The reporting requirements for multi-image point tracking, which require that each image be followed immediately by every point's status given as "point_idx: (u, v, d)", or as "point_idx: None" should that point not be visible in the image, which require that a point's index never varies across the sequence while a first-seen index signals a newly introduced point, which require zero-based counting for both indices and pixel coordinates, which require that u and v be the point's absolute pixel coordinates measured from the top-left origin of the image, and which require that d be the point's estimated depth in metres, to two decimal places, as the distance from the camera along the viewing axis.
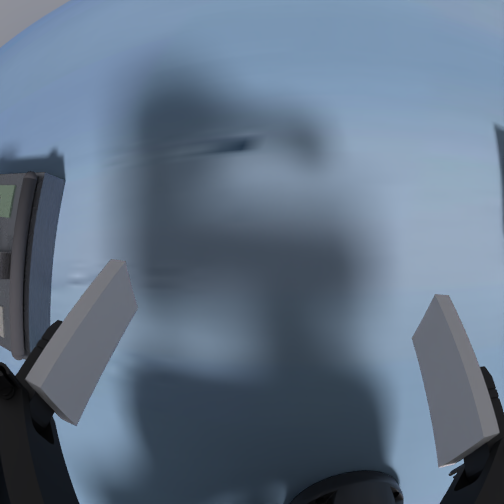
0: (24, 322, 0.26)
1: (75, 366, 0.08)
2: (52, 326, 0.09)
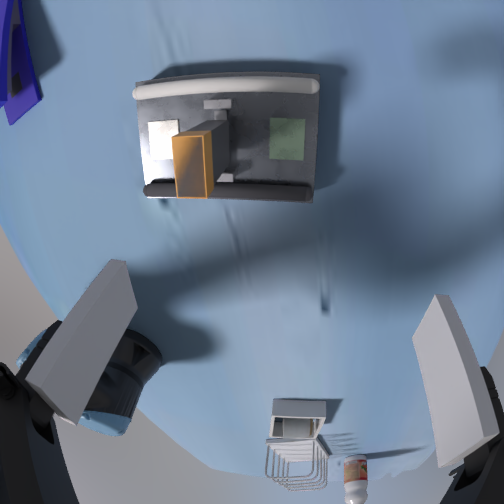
0: None
1: (75, 366, 0.08)
2: (52, 326, 0.09)
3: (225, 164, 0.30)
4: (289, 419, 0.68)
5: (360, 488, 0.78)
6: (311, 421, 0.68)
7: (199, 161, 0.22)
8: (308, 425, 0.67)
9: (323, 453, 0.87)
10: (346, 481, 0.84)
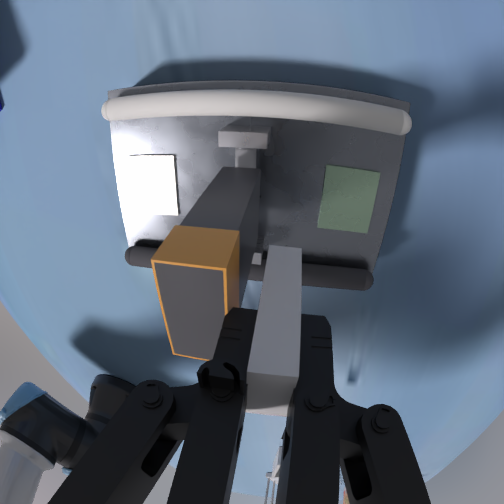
0: None
1: None
2: (227, 313, 0.10)
3: (253, 250, 0.19)
4: None
5: None
6: None
7: (216, 313, 0.10)
8: None
9: None
10: None
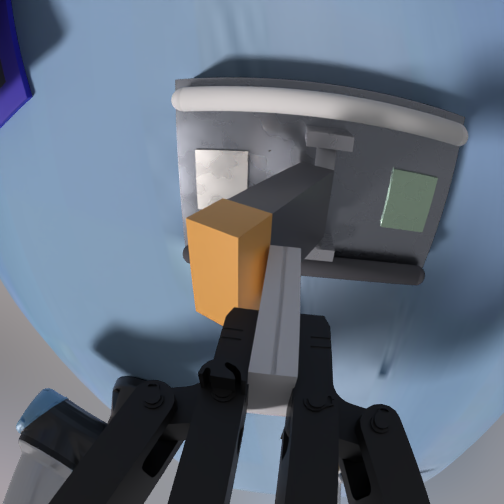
0: None
1: None
2: (228, 314, 0.10)
3: (311, 245, 0.19)
4: None
5: None
6: None
7: (229, 279, 0.12)
8: None
9: (338, 480, 0.78)
10: None
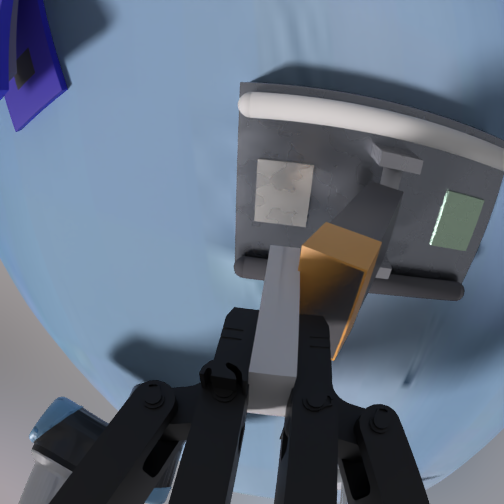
0: None
1: None
2: (229, 313, 0.10)
3: (379, 265, 0.18)
4: None
5: None
6: None
7: (343, 309, 0.11)
8: None
9: None
10: None
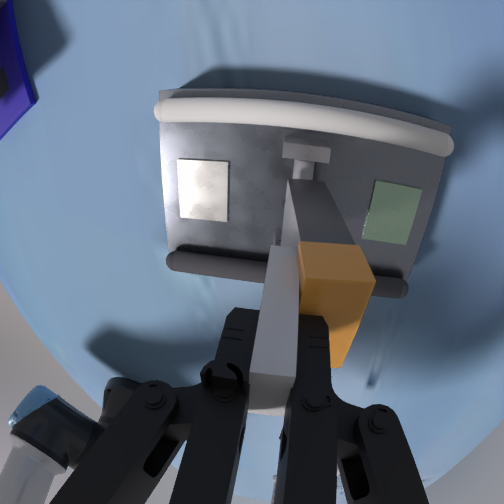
0: None
1: None
2: (229, 314, 0.10)
3: None
4: None
5: None
6: None
7: (350, 322, 0.11)
8: None
9: None
10: None
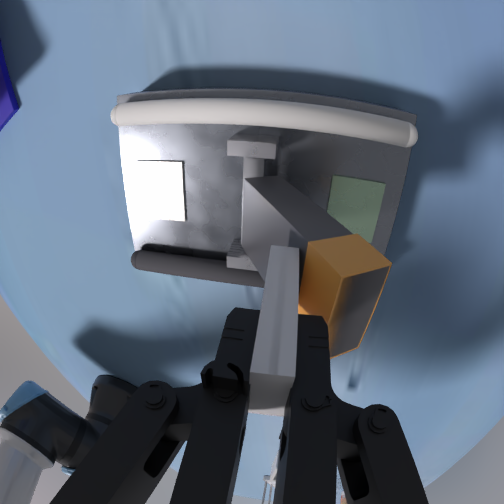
0: None
1: None
2: (230, 314, 0.10)
3: None
4: None
5: None
6: None
7: (370, 304, 0.12)
8: None
9: None
10: None
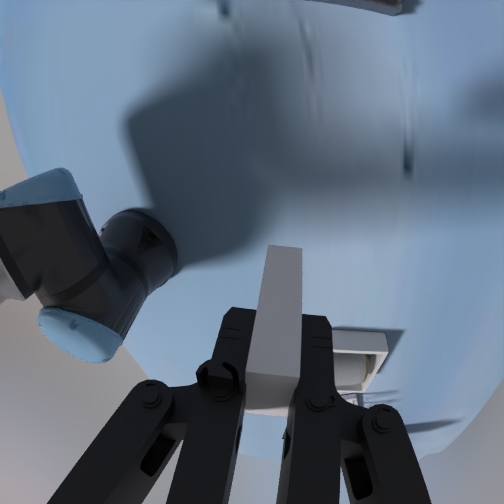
0: None
1: None
2: (226, 313, 0.10)
3: None
4: (339, 356, 0.54)
5: None
6: (367, 359, 0.54)
7: None
8: (364, 365, 0.53)
9: None
10: None
